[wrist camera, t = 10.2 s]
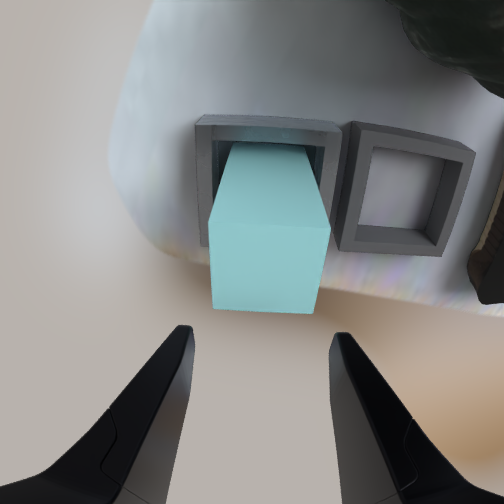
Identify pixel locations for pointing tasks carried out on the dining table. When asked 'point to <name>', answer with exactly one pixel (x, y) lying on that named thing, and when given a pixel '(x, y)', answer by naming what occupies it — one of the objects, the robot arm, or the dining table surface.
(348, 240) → the grey square frame
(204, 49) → the dining table surface
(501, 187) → the black sponge
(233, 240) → the plug
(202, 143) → the port block
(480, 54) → the squash
